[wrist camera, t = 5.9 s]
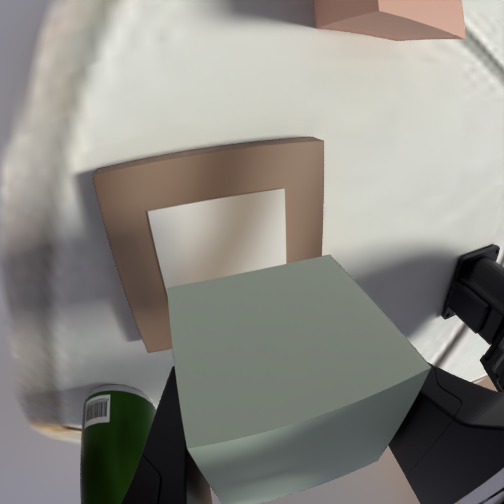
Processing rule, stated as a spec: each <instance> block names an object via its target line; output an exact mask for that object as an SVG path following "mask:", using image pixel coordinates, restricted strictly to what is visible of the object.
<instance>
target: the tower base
mask: <svg viewBox="0 0 504 504" xmlns="http://www.w3.org/2000/svg"><path fill="white" fill-rule="evenodd" d="M93 180H94V184H95V189H96V193H97V197H98V201H99V205H100V209H101V213H102V217H103V221H104V225H105V228H106V232H107V236H108V239H109V243H110V246H111V250H112V253H113V256H114V260H115V263H116V266H117V269H118V272H119V275H120V279H121V282H122V285H123V288H124V291H125V293H126V296H127V299H128V302H129V305H130V308H131V310H132V313H133V316H134V319H135V321H136V324H137V327H138V329H139V332H140V334H141V337H142V339H143V342H144V344H145V347H146V349H147V352H148V353H151V352H157V351H162V350H168V349H173V348H172V338H171V328H170V318H169V306H168V294H167V288H169V287H174V286H179V285H184V284H190V283H195V282H200V281H205V280H210V279H215V278H220V277H225V276H230V275H235V274H240V273H245V272H249V271H254V270H259V269H264V268H269V267H274V266H278V265H283V264H288V263H293V262H297V261H302V260H307V259H312V258H316V257H321V256H322V235H323V203H324V141H323V140H320V139H317V138H314V137H302V138H289V139H278V140H267V141H257V142H248V143H240V144H232V145H224V146H216V147H209V148H203V149H196V150H190V151H184V152H178V153H172V154H166V155H161V156H155V157H150V158H145V159H140V160H135V161H130V162H126V163H121V164H117V165H112V166H108V167H104V168H99V169H97V171H96V172H95V173H94V174H93Z"/></svg>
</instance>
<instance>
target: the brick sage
mask: <svg viewBox="0 0 504 504" xmlns="http://www.w3.org/2000/svg"><path fill="white" fill-rule="evenodd" d="M167 294H168V306H169V318H170V328H171V338H172V348H173V357H174V365H175V373H176V381H177V388H178V395H179V402H180V409H181V415H182V421H183V428H184V433H185V439H186V445H187V449H188V451H189V453H190V454H191V456H192V458H193V459H194V461H195V463H196V464H197V466H198V468H199V469H200V471H201V472H202V474H203V476H204V477H205V479H206V480H207V482H208V484H209V485H210V486H211V488H212V490H213V491H214V493H215V494H216V496H217V497H218V498H219V500H220V501H221V503H222V504H258V503H262V502H265V501H269V500H273V499H277V498H280V497H284V496H287V495H291V494H294V493H297V492H300V491H303V490H306V489H309V488H312V487H315V486H318V485H321V484H323V483H326V482H329V481H331V480H334V479H336V478H339V477H341V476H344V475H346V474H349V473H351V472H354V471H356V470H358V469H360V468H363V467H365V466H367V465H369V464H371V463H373V462H376V461H378V460H379V458H380V457H381V455H382V454H383V452H384V451H385V449H386V448H387V446H388V445H389V443H390V441H391V440H392V438H393V437H394V435H395V433H396V432H397V430H398V429H399V427H400V425H401V424H402V422H403V420H404V418H405V417H406V415H407V413H408V411H409V410H410V408H411V406H412V404H413V402H414V401H415V399H416V397H417V395H418V393H419V391H420V389H421V387H422V385H423V383H424V381H425V379H426V377H427V375H428V373H429V371H430V369H431V366H430V365H429V364H428V363H427V361H426V360H425V359H424V358H423V357H422V355H421V354H420V353H419V352H418V351H417V350H416V348H415V347H414V346H413V345H412V344H411V343H410V342H409V340H408V339H407V338H406V337H405V336H404V335H403V333H402V332H401V331H400V330H399V329H398V328H397V327H396V326H395V324H394V323H393V322H392V321H391V320H390V319H389V318H388V317H387V315H386V314H385V313H384V312H383V311H382V310H381V309H380V308H379V307H378V305H377V304H376V303H375V302H374V301H373V300H372V299H371V298H370V297H369V296H368V295H367V293H366V292H365V291H364V290H363V289H362V288H361V287H360V286H359V285H358V284H357V283H356V282H355V280H354V279H353V278H352V277H351V276H350V275H349V274H348V273H347V272H346V271H345V270H344V269H343V268H342V267H341V266H340V265H339V263H338V262H337V261H336V260H335V259H334V258H333V257H332V256H331V255H326V256H321V257H316V258H312V259H307V260H302V261H297V262H293V263H288V264H283V265H278V266H274V267H269V268H264V269H259V270H254V271H249V272H245V273H240V274H235V275H230V276H225V277H220V278H215V279H210V280H205V281H200V282H195V283H190V284H184V285H179V286H174V287H169V288H167Z"/></svg>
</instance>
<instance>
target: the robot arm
mask: <svg viewBox="0 0 504 504" xmlns="http://www.w3.org/2000/svg"><path fill="white" fill-rule="evenodd" d="M499 250H500V247H499V246H497V245H494V246H491V247H488V248H485V249H483V250H480V251H477V252H474V253H471V254H469V255H466V256H463V257H461V258H460V260H459V262H458V265H457V268H456V272H455V275H454V279H453V282H452V285H451V288H450V292H449V295H448V298H447V301H446V304H445V307H444V309H443V312H442V317H443V318H444V319H445V320H446V319H448V318H450V317H452V316H454V315H457V316H458V317H459V318H460V319H461V320H462V321H463V322H464V323H465V324H466V325H467V326H468V327H469V328H470V329H471V330H472V331H473V332H474V333H478V334H479V335H480V336H481V337H482V338H483V339H484V340H485V341H486V342H487V343H488V344H489V345H491V344H492V345H491V346H490V347H489V349H488V350H487V352H486V353H485V355H483V356H482V357H481V359H480V362H481V363H482V365H483V367H484V369H485V371H486V372H487V374H488V376H489V377H490V379H491V380H492V382H493V384H494V386H495V387H496V389H497V390H498V392H496V391H493V390H490V389H487V388H484V387H482V386H480V385H477V384H474V383H472V382H469V381H467V380H464V379H462V378H459V377H457V376H455V375H452V374H450V373H448V372H446V371H444V370H442V369H440V368H438V367H436V366H433V365H432V364H430V363H428V362H427V363H428V364H429V365H430V366H431V369H430V371H429V373H428V375H427V377H426V379H425V381H424V383H423V385H422V387H421V389H420V391H419V393H418V395H417V397H416V399H415V401H414V402H413V404H412V406H411V408H410V410H409V411H408V413H407V415H406V417H405V418H404V420H403V422H402V424H401V425H400V427H399V429H398V430H397V432H396V433H395V435H394V437H393V438H392V440H391V441H390V443H389V445H388V446H389V447H390V449H391V451H392V453H393V455H394V456H395V458H396V460H397V462H398V464H399V465H400V467H401V469H402V471H403V472H404V474H405V477H406V478H407V480H408V482H409V484H410V485H411V487H412V489H413V491H414V493H415V494H416V496H417V498H418V500H419V502H420V504H454V503H456V502H457V501H459V500H460V502H461V503H462V504H504V267H502V266H501V265H500V264H498V263H497V262H496V260H497V257H498V254H499ZM141 454H142V455H143V456H142V455H141V456H140V459H139V462H138V465H137V467H136V470H135V473H134V475H133V478H132V481H131V483H130V485H129V487H128V489H127V491H126V494H125V496H124V498H123V500H122V502H121V504H212V498H211V491H210V485H209V484H208V482H207V480H206V479H205V477H204V476H203V474H202V472H201V471H200V469H199V468H198V466H197V464H196V463H195V461H194V459H193V458H192V456H191V454H190V453H189V451H188V449H187V445H186V439H185V433H184V428H183V421H182V415H181V409H180V402H179V395H178V388H177V381H176V373H175V366H173V367H172V369H171V372H170V375H169V377H168V380H167V383H166V385H165V388H164V391H163V394H162V396H161V399H160V402H159V405H158V408H157V410H156V413H155V416H154V419H153V422H152V424H151V427H150V430H149V433H148V436H147V439H146V442H145V445H144V447H143V450H142V453H141Z"/></svg>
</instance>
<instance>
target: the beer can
mask: <svg viewBox="0 0 504 504" xmlns="http://www.w3.org/2000/svg"><path fill="white" fill-rule="evenodd" d="M155 413H156V409H155V408H154V406H153V404H152V402H151V401H150V399H149V398H148V397H147V396H146V395H145V394H144V393H143V392H141V391H139V390H137V389H135V388H132V387H128V386H124V385H113V384H112V385H105V386H101V387H98V388H96V389H94V390H93V391H92V392H91V393H90V394H89V396H88V397H87V399H86V400H85V403H84V408H83V420H82V436H81V464H80V466H81V467H80V478H81V479H80V488H81V489H80V490H81V504H121V502H122V500H123V498H124V496H125V494H126V491H127V489H128V487H129V485H130V483H131V481H132V478H133V475H134V473H135V470H136V467H137V465H138V462H139V459H140V456H141V455H142V454H141V453H142V450H143V447H144V445H145V442H146V439H147V436H148V433H149V430H150V427H151V424H152V422H153V419H154V416H155ZM142 456H143V455H142Z"/></svg>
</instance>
